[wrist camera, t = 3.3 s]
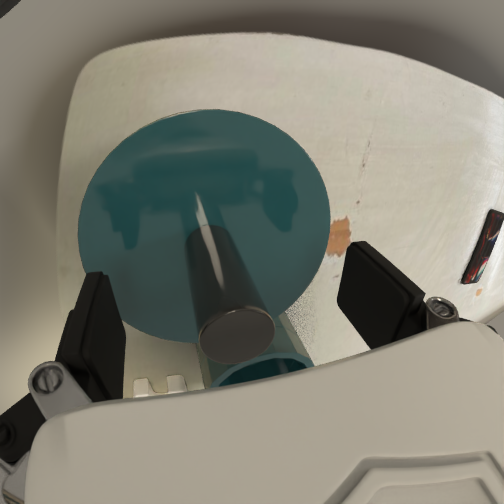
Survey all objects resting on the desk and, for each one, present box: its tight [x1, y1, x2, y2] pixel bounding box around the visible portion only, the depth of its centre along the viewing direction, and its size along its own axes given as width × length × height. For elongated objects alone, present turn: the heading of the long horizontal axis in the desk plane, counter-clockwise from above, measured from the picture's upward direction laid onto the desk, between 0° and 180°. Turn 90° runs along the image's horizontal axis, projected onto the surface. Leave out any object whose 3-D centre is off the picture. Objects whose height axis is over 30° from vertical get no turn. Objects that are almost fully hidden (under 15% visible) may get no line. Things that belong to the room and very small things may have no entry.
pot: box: [196, 312, 314, 389], centre depth 32 cm, size 12×12×8 cm
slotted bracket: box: [134, 375, 187, 397], centre depth 35 cm, size 13×7×8 cm, turn 0°
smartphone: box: [462, 209, 504, 284], centre depth 42 cm, size 7×1×15 cm
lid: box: [78, 109, 330, 364], centre depth 12 cm, size 13×13×6 cm
